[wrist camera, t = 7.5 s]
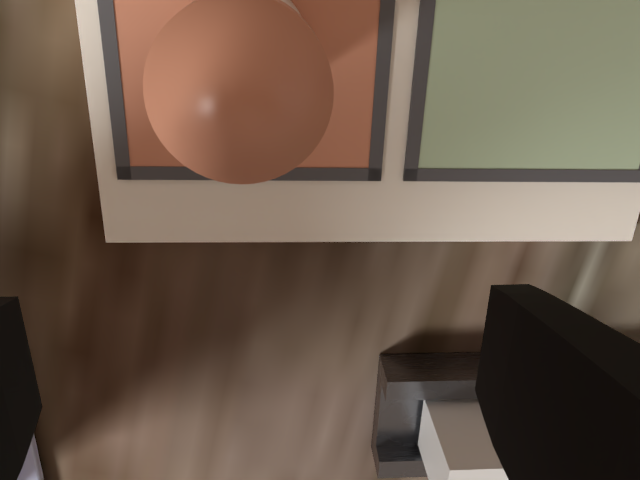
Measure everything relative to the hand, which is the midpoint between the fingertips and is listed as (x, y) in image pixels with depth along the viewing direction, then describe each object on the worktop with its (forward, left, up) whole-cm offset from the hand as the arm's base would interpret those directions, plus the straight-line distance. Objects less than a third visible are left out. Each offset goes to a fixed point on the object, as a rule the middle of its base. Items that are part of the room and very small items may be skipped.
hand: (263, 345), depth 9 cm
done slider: (+7, -10, -9) cm, 15 cm away
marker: (0, +3, -9) cm, 10 cm away
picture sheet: (+4, +3, -10) cm, 11 cm away
